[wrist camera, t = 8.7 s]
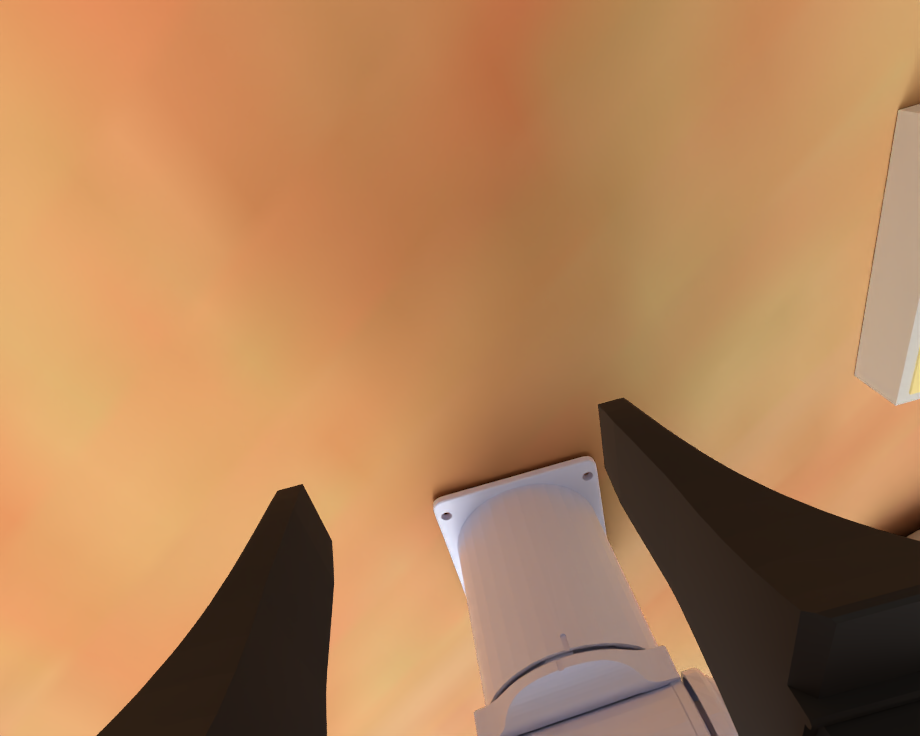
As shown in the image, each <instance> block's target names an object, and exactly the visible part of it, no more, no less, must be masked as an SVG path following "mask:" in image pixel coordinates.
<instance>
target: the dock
mask: <svg viewBox="0 0 920 736" xmlns="http://www.w3.org/2000/svg"><path fill="white" fill-rule="evenodd" d="M854 376H855V377H857V378H858V379H860V380H861V381H862V382H864V383H865V384H867V385H868V386H869V387H871V388H872V389H873V390H875V391H876V392H878V393H879V394H880V395H882V396H883V397H884V398H886V399H887V400H889V401H890V402H891V403H893V404H894V405H899V404H903V403H906V402H910V401H913V400H917V399H920V104H917V105H914V106H910V107H907V108H903V109H900V110H898V116H897V122H896V128H895V134H894V140H893V146H892V152H891V158H890V164H889V170H888V176H887V182H886V188H885V194H884V200H883V206H882V212H881V218H880V224H879V230H878V236H877V242H876V248H875V254H874V260H873V266H872V272H871V278H870V284H869V290H868V296H867V302H866V308H865V314H864V320H863V326H862V332H861V338H860V344H859V350H858V356H857V362H856V368H855V374H854Z"/></svg>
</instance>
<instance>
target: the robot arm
mask: <svg viewBox="0 0 920 736" xmlns="http://www.w3.org/2000/svg"><path fill="white" fill-rule="evenodd" d="M598 409H599V418H600V427H601V437H602V446H603V455H604V464H605V469H606V471H607V473H608V476H609V478H610V480H611V483H612V485H613V487H614V490H615V492H616V494H617V496H618V498H619V501H620V503H621V505H622V507H623V508H624V510H625V512H626V513H627V515H628V517H629V518H630V520H631V522H632V524H633V525H634V527H635V529H636V530H637V532H638V534H639V535H640V537H641V539H642V540H643V542H644V544H645V545H646V547H647V549H648V550H649V552H650V554H651V555H652V557H653V559H654V560H655V562H656V564H657V565H658V567H659V569H660V570H661V572H662V574H663V575H664V577H665V579H666V580H667V582H668V584H669V586H670V588H671V589H672V591H673V593H674V595H675V597H676V599H677V601H678V603H679V605H680V607H681V609H682V611H683V613H684V615H685V618H686V620H687V622H688V624H689V626H690V628H691V630H692V632H693V634H694V637H695V639H696V641H697V643H698V645H699V647H700V650H701V652H702V654H703V656H704V658H705V661H706V663H707V665H708V667H709V669H710V672H711V674H712V676H713V678H714V679H713V678H711V677H709V676H707V675H704V674H703V673H702V672H701V671H700V670H699V669H697V668H691V669H688V670H685V671H682V672H681V678H680V676H679V674H678V672H677V670H676V668H675V666H674V664H673V662H672V659H671V657H670V655H669V653H668V651H667V649H666V647H665V646H662V645H661V646H658V645H657V643H656V641H655V639H654V636H653V634H652V632H651V630H650V628H649V626H648V624H647V622H646V619H645V617H644V615H643V613H642V611H641V609H640V607H639V605H638V602H637V600H636V598H635V596H634V594H633V592H632V590H631V588H630V585H629V583H628V581H627V579H626V577H625V575H624V573H623V571H622V568H621V566H620V564H619V562H618V560H617V558H616V556H615V554H614V551H613V549H612V547H611V545H610V543H609V541H608V539H607V534H606V528H605V521H604V514H603V507H602V500H601V494H600V487H599V480H598V473H597V466H596V464H595V461H594V460H593V458H592V457H589V456H583V457H579V458H576V459H572V460H569V461H565V462H562V463H558V464H555V465H551V466H547V467H544V468H540V469H537V470H533V471H530V472H526V473H523V474H519V475H516V476H512V477H509V478H505V479H502V480H498V481H495V482H491V483H487V484H484V485H480V486H477V487H473V488H470V489H466V490H463V491H459V492H456V493H452V494H449V495H445V496H442V497H439V498H437V499H436V500H435V501H434V503H433V509H434V513H435V516H436V519H437V521H438V524H439V527H440V529H441V532H442V534H443V537H444V540H445V542H446V545H447V548H448V550H449V553H450V555H451V558H452V561H453V563H454V566H455V569H456V571H457V574H458V577H459V579H460V582H461V584H462V587H463V590H464V592H465V595H466V598H467V604H468V609H469V615H470V621H471V626H472V632H473V638H474V643H475V649H476V654H477V660H478V666H479V671H480V677H481V682H482V688H483V694H484V699H485V705H486V706H485V707H483V708H480V709H478V710H476V711H475V712H474V717H475V724H476V730H477V736H920V541H918V540H914V539H911V538H907V537H903V536H899V535H896V534H892V533H888V532H885V531H881V530H878V529H875V528H872V527H869V526H866V525H863V524H859V523H856V522H853V521H850V520H847V519H844V518H841V517H839V516H836V515H833V514H830V513H827V512H825V511H822V510H819V509H817V508H814V507H812V506H809V505H807V504H804V503H802V502H799V501H797V500H794V499H792V498H789V497H787V496H785V495H783V494H780V493H778V492H776V491H773V490H771V489H769V488H767V487H765V486H763V485H761V484H759V483H757V482H755V481H753V480H751V479H749V478H747V477H744V476H743V475H741V474H739V473H737V472H735V471H733V470H731V469H730V468H728V467H726V466H724V465H723V464H721V463H719V462H718V461H716V460H714V459H712V458H711V457H709V456H707V455H706V454H704V453H702V452H701V451H699V450H698V449H696V448H695V447H693V446H691V445H690V444H688V443H687V442H685V441H684V440H682V439H681V438H679V437H678V436H676V435H675V434H673V433H672V432H670V431H669V430H667V429H666V428H665V427H663V426H662V425H660V424H659V423H658V422H656V421H655V420H653V419H652V418H651V417H649V416H648V415H646V414H645V413H644V412H642V411H641V410H640V409H638V408H637V407H636V406H634V405H633V404H632V403H630V402H629V401H628V400H626V399H624V398H620V399H616V400H613V401H609V402H605V403H602V404H598ZM587 472H589V473H588V474H586V475H584V474H585V473H587ZM447 512H449V513H448V514H444V513H447ZM333 590H334V567H333V550H332V540H331V538H330V536H329V534H328V532H327V530H326V528H325V527H324V525H323V523H322V521H321V519H320V517H319V515H318V513H317V511H316V509H315V507H314V505H313V503H312V501H311V499H310V497H309V496H308V494H307V492H306V490H305V488H304V486H303V484H301V485H297V486H294V487H290V488H286V489H282V490H279V491H277V493H276V494H275V496H274V498H273V499H272V501H271V503H270V505H269V506H268V508H267V510H266V512H265V513H264V515H263V517H262V519H261V521H260V522H259V524H258V526H257V528H256V529H255V531H254V533H253V535H252V536H251V538H250V540H249V542H248V543H247V545H246V547H245V548H244V550H243V552H242V554H241V555H240V557H239V559H238V560H237V562H236V564H235V565H234V567H233V569H232V570H231V572H230V574H229V575H228V577H227V578H226V580H225V581H224V583H223V584H222V586H221V587H220V589H219V590H218V592H217V593H216V595H215V597H214V598H213V600H212V601H211V603H210V604H209V606H208V607H207V608H206V610H205V611H204V613H203V614H202V615H201V617H200V618H199V620H198V621H197V622H196V624H195V625H194V626H193V628H192V629H191V630H190V632H189V633H188V634H187V635H186V637H185V638H184V639H183V641H182V642H181V643H180V644H179V646H178V647H177V648H176V649H175V651H174V652H173V653H172V654H171V656H170V657H169V658H168V659H167V660H166V661H165V662H164V664H163V665H162V666H161V667H160V668H159V669H158V670H157V672H156V673H155V674H154V675H153V676H152V677H151V679H150V680H149V681H148V682H147V683H146V684H145V685H144V687H143V688H142V689H141V690H140V691H139V692H138V693H137V695H136V696H135V697H134V698H133V699H132V700H131V701H130V702H129V703H128V704H127V705H126V706H125V707H124V708H123V709H122V710H121V711H120V712H119V714H118V715H117V716H116V717H115V718H114V719H113V720H112V721H111V722H110V723H109V724H108V725H107V726H106V727H105V728H104V729H103V730H102V731H101V732H100V733H99V734H98V735H97V736H327V721H326V683H327V666H328V654H329V641H330V629H331V617H332V604H333ZM681 680H682V681H681Z"/></svg>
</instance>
